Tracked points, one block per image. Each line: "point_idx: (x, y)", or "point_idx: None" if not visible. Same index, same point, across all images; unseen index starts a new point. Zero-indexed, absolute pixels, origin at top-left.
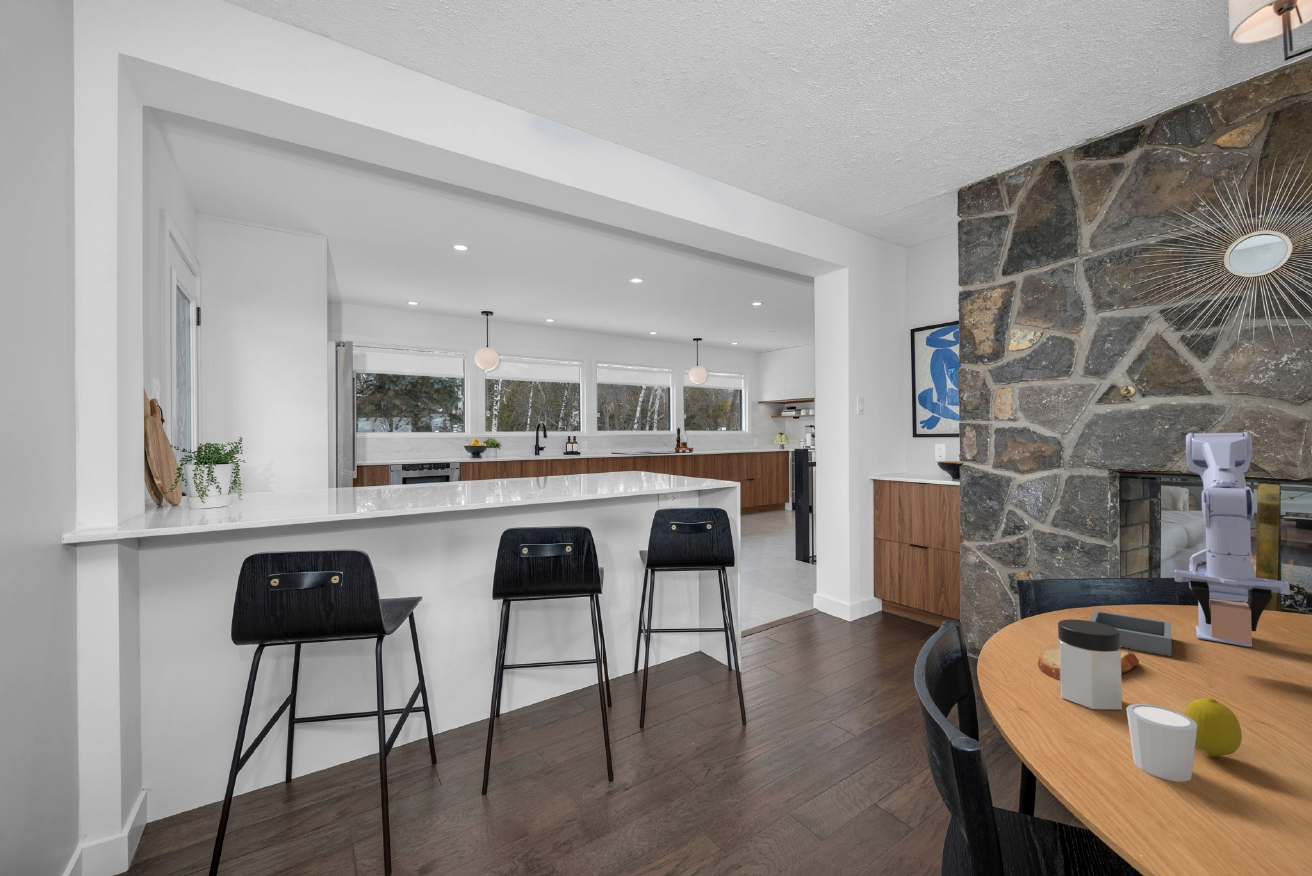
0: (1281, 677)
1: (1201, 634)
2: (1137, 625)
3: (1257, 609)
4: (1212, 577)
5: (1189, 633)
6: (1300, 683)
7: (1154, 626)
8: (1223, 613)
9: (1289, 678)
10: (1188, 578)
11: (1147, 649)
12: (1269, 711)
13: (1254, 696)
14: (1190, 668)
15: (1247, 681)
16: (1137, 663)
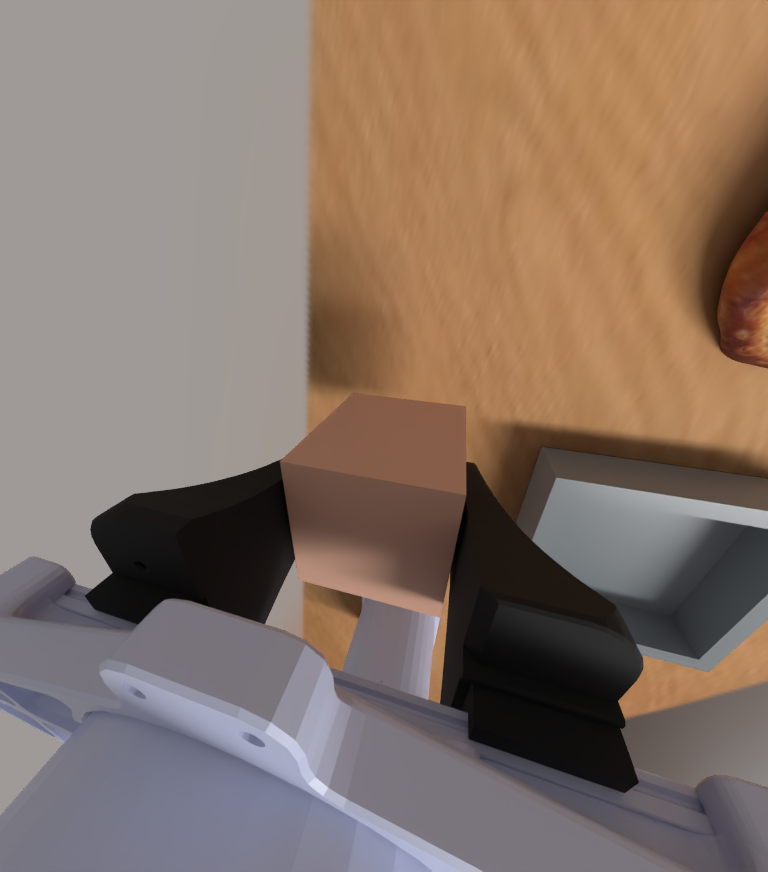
0: None
1: None
2: None
3: (255, 479)
4: (434, 839)
5: None
6: (307, 396)
7: None
8: (410, 457)
9: (322, 419)
10: (653, 839)
11: (605, 460)
12: (384, 5)
13: (402, 182)
14: (518, 364)
15: (399, 336)
16: (760, 221)
